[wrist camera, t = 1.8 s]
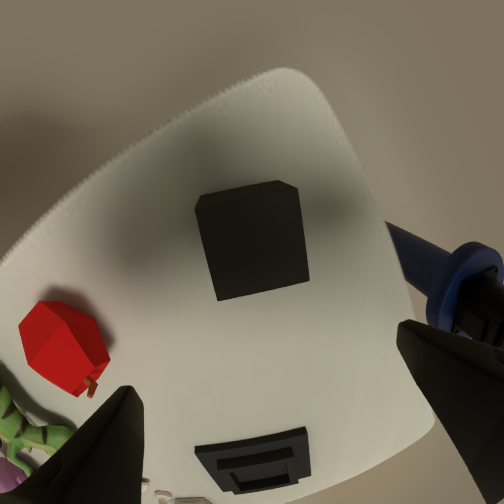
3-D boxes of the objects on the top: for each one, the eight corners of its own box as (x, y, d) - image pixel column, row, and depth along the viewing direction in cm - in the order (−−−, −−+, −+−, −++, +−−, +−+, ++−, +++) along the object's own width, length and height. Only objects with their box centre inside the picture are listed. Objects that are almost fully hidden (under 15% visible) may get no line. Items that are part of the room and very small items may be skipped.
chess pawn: (169, 497, 30) (168, 515, 27) (153, 494, 30) (151, 512, 26) (173, 493, 30) (173, 512, 26) (156, 489, 29) (155, 508, 26)
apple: (-10, 347, 13) (56, 434, 13) (18, 281, 14) (95, 380, 13) (42, 333, 20) (100, 400, 20) (75, 279, 21) (140, 351, 20)
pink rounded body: (54, 473, 34) (23, 499, 25) (3, 427, 30) (-27, 455, 21) (80, 534, 20) (42, 561, 11) (5, 484, 16) (-31, 515, 7)
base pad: (305, 426, 26) (311, 444, 24) (309, 470, 30) (313, 484, 28) (194, 446, 26) (194, 464, 23) (222, 486, 30) (223, 500, 27)
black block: (278, 179, 18) (298, 187, 14) (290, 253, 20) (310, 281, 15) (199, 195, 18) (194, 208, 13) (216, 269, 19) (217, 301, 15)
